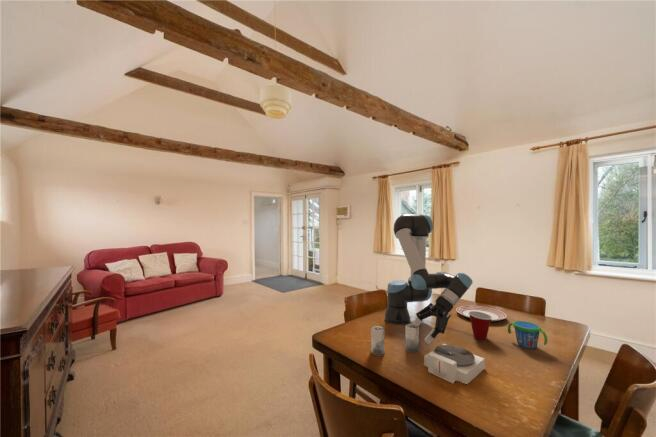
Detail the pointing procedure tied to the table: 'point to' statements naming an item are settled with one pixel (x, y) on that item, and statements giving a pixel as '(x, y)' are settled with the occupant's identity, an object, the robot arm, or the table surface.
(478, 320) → the plastic cup
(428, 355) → the scale
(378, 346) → the cylinder
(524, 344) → the snack cup
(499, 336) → the table surface
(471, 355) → the scale pan
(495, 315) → the dinner plate
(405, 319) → the robot arm
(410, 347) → the silver metal cylinder
